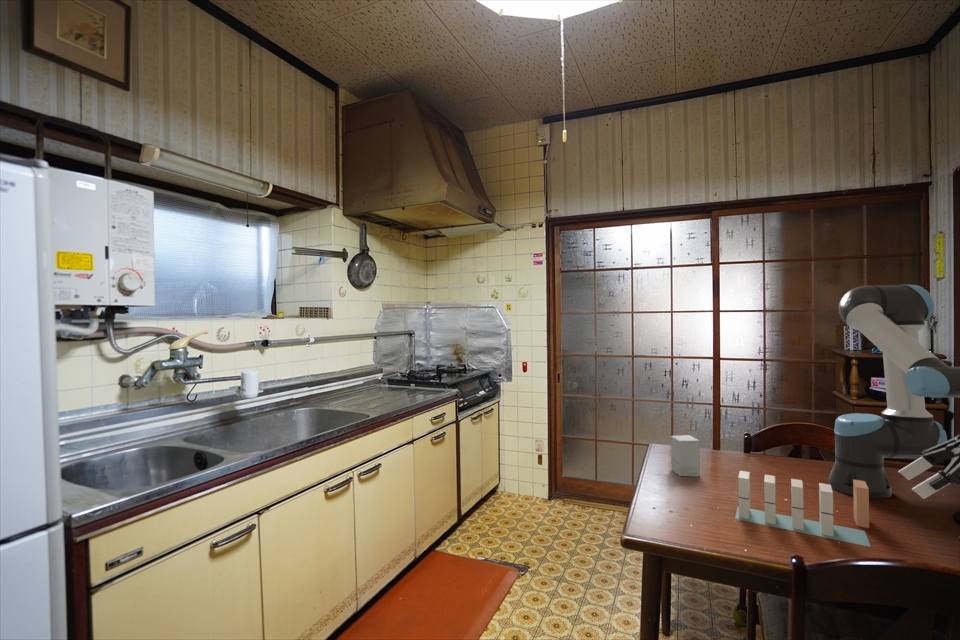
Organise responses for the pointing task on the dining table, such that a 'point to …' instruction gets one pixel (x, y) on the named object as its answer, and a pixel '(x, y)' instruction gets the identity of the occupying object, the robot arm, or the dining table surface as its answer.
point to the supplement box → (685, 455)
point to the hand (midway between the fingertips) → (909, 484)
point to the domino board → (809, 527)
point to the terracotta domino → (861, 503)
